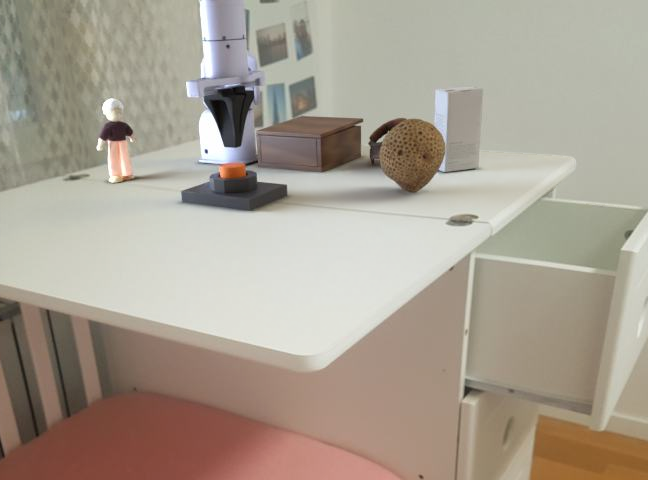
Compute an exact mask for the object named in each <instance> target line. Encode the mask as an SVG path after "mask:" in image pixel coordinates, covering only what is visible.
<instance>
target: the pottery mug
mask: <svg viewBox="0 0 648 480" xmlns="http://www.w3.org/2000/svg"><path fill="white" fill-rule="evenodd" d="M404 120H408V118H406V117H397V118H394V119H392V120H387V122H385V123H383V124H381V125H380V126H379V127H377V128H376V129H375V130H374V131H373V132H372V133H371V134H370V136H369V138H368V139H369V141H368V143H367V144H368V146H369V147H370V148H369V155H368V156H369V160H370V163H371V165H372V166H374V165H375V164H376V160H380V148H381V146H382V142H383V141H379V140H381V139H382V138H383V137H385V136H386V135H387V134H388V133H389V131H390V130H391V129H392V128H394V127H395V126H396V125H398V124H399V123H400V122H402V121H404Z"/></svg>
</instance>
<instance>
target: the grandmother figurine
mask: <svg viewBox="0 0 648 480" xmlns="http://www.w3.org/2000/svg"><path fill="white" fill-rule="evenodd" d="M124 109H125V107H124V104H123V102H122V101H121V100H119V99H117V98H113V97H112V98H111V97H110V98H109V99H107V100H105V102H104V103H103V105H102V111H103V114H104V115H105V116H106V119H107V120H108V122H106V123H104V124H103V127H102V129H101V131H100V134H99V136H98V142H97V145H96V150H97V151H98V152H102V151H103V150H104V146H105V144H106V141H107V145H108V149H107V164H108V175H109V176H110V177H109V178H108V182H110V183H112V184H115V183H121V182H124V180H125V181H127V180H133V179H135V175H133V174H134V172H133V171H134V170H133V167H132V161H131V157H130V153H129V149H128V142H127V137H128V138H129V140H130V142H131V143H132V144H134V143H136V142H137V140H138V139H137V137H136V136H135V133H134V129H133V128H132V127H131V126H130V125H129V123H127V122H124V121H122V119H123V113H124Z"/></svg>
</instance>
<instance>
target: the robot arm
mask: <svg viewBox="0 0 648 480" xmlns="http://www.w3.org/2000/svg"><path fill="white" fill-rule="evenodd" d="M197 2H198V3H199V15H200V27H201V29H200V30H201V38H202V50H203V51H202V52H203V58H202V60H201V62H200V77H199V78H195V79H192V80H187V81H186V82H185V84H186V93H187V98H200V99H201V98H202V102H203V105H204V106H205V107H206V108H207V109H205V110H204V111H203V112H202V113H201V115H200V118H199V121H198V131H199V132H198V133H199V139H200V140H199V143H200V154H201V158H199V160H198V162H199V163H203V164H216V165H221V164H225V163H233V162H239V163H244V164H245V165H248V164H251V163H254V162H258V155H257V141H256V129H255V128H256V127H255V112H254V109H255V106H258V105H259V103H260V102H261V87H263V86H266V75H265V70H259V65H258V63H259V62H258V59H257V57H256V55H255V54H253V53H252V52H251V51H249V50H248V41H247V27H246V12H245V11H246V10H245V0H197Z"/></svg>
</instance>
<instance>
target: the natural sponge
mask: <svg viewBox="0 0 648 480" xmlns="http://www.w3.org/2000/svg"><path fill="white" fill-rule="evenodd" d="M381 142H382V146H381V148H380V159H379V164H380V167H381V170H382V172H383V173H384V175H385V176H387V177H388V178H389V179H390V180H391V181H393V182H395V184H396V185H397V186H398V187H400V188H401V189H402V190H403V191H405V192H408V193H415V192H418V191H420V190H422V189H423V188H425V187H426V186H427V185H428V184H429V183H430V182H431V181H432V179H433V178H434V177H435V176H436V174H437V173H438V171H440V170H439V168H440V166H441V164H442V162H443V159H444V155H445V142H444V139H443V137H442V134H441V133H440V132H439V131H438V130H437V128H436V127H435V126H434V124H433V123H431V122H429V121H424V120H423V119H420V118H407V120H404V121H402V122H400V123H399V124H398V125H396V126H395V127H394V128H392V129H391V130H390V131H388V133H387V134H385V135H384V138H383V140H382V141H381Z"/></svg>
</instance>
